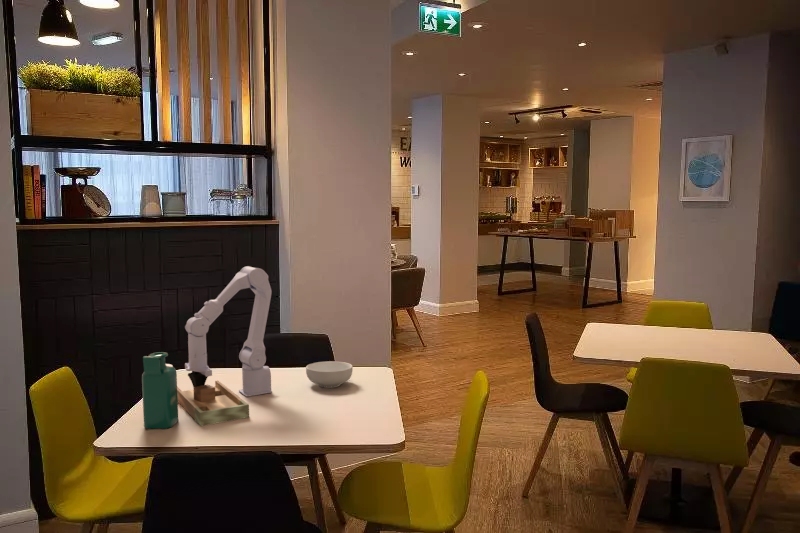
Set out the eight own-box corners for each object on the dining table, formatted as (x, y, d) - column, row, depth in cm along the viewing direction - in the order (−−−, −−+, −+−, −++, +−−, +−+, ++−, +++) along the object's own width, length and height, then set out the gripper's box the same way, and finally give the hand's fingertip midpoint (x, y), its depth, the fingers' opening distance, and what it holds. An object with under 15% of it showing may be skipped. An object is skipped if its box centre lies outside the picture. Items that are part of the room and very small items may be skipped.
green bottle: (153, 419, 204) (150, 349, 202) (180, 419, 204) (177, 349, 202) (139, 430, 194) (136, 357, 192) (168, 430, 194) (165, 357, 192)
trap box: (218, 391, 234) (218, 380, 234) (249, 417, 206) (248, 404, 206) (174, 398, 226) (174, 386, 226) (200, 425, 198) (200, 412, 198)
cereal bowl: (361, 382, 245) (361, 364, 244) (333, 393, 231) (333, 374, 230) (325, 376, 254) (325, 358, 253) (296, 386, 240) (296, 367, 239)
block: (193, 399, 218) (193, 387, 218) (207, 396, 222) (207, 384, 221) (201, 402, 215) (201, 390, 214) (215, 399, 218) (215, 387, 218)
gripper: (175, 352, 222) (177, 391, 223) (197, 359, 212) (198, 400, 213) (195, 348, 227) (196, 387, 228) (217, 355, 217) (218, 396, 218)
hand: (199, 393), depth 221 cm, fingers closed
